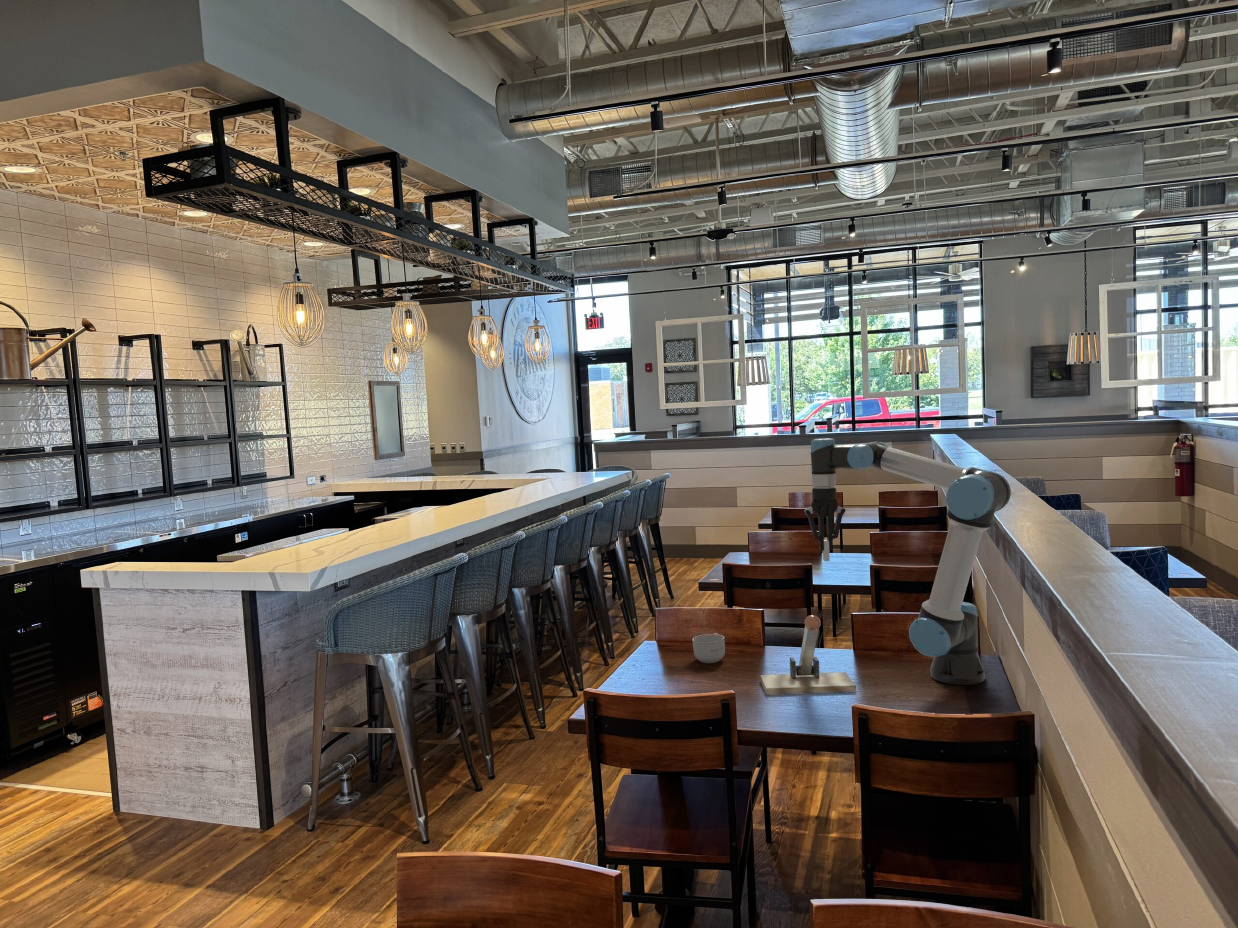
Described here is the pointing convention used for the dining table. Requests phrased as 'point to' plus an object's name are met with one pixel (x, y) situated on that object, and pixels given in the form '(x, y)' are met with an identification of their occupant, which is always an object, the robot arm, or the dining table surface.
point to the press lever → (808, 646)
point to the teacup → (709, 647)
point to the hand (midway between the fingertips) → (826, 560)
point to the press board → (807, 682)
